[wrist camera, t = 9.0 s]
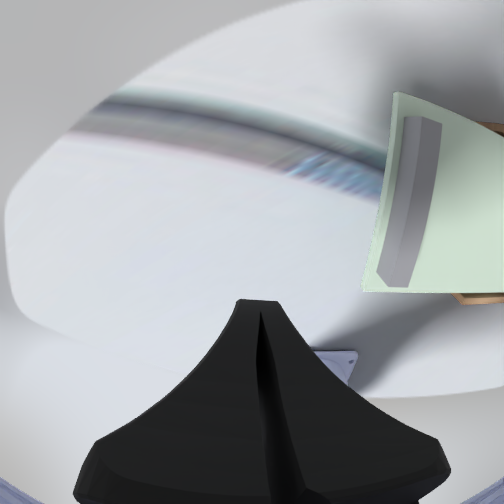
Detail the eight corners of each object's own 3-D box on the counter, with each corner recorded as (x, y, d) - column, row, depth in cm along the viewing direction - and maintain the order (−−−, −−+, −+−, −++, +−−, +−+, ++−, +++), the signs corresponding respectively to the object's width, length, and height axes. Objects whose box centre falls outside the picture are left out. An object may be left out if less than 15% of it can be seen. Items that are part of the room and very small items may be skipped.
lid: (534, 159, 11) (554, 165, 9) (502, 288, 15) (518, 302, 13) (393, 92, 11) (415, 87, 9) (360, 286, 15) (374, 307, 13)
